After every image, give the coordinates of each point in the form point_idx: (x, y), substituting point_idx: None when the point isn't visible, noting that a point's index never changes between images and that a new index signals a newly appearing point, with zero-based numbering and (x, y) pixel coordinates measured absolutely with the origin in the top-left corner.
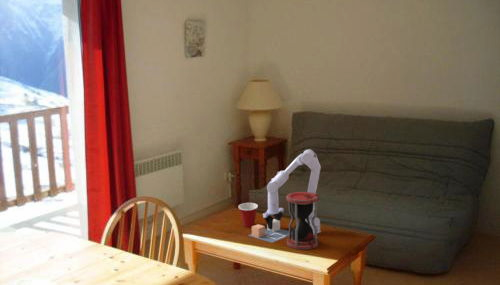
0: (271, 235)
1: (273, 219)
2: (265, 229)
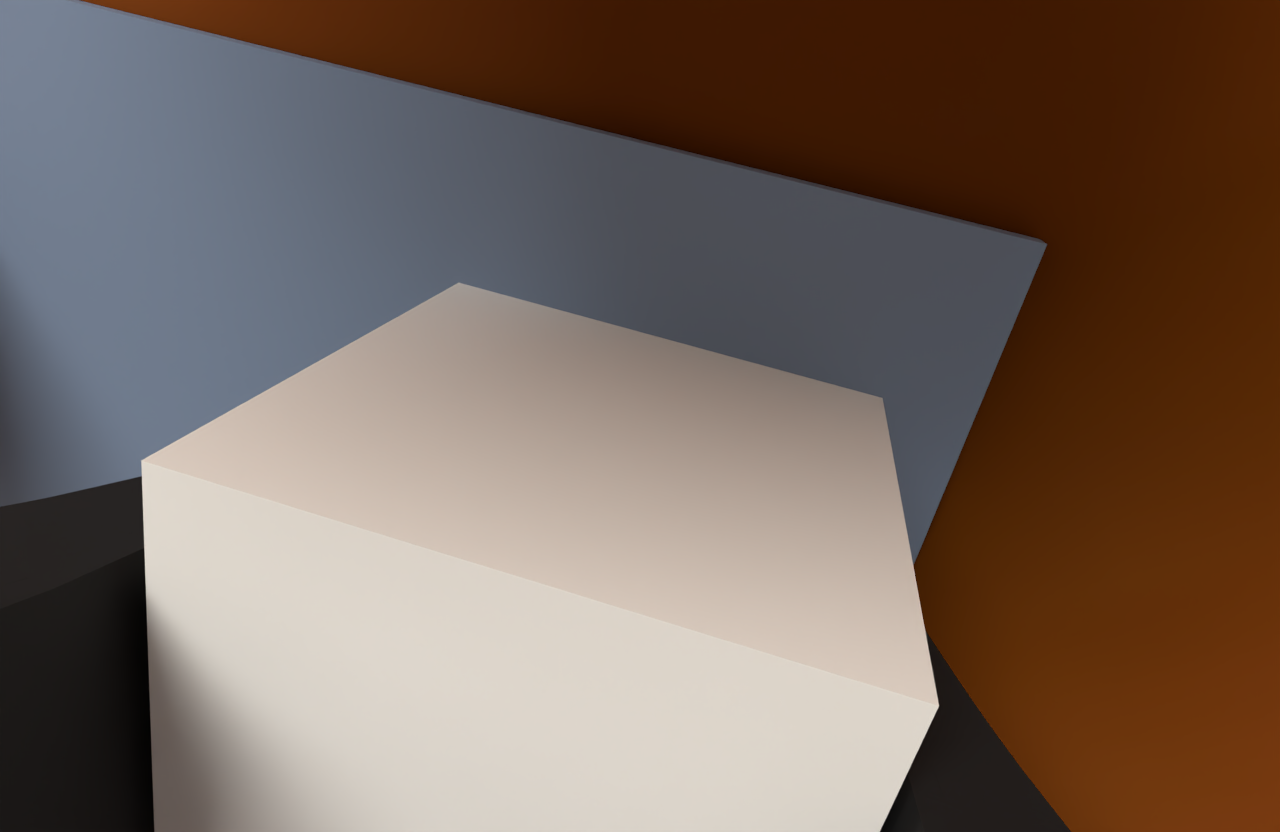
0: None
1: (765, 782)
2: (468, 180)
